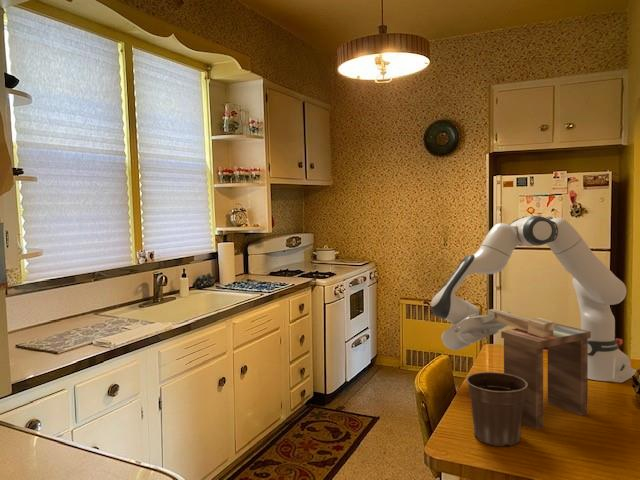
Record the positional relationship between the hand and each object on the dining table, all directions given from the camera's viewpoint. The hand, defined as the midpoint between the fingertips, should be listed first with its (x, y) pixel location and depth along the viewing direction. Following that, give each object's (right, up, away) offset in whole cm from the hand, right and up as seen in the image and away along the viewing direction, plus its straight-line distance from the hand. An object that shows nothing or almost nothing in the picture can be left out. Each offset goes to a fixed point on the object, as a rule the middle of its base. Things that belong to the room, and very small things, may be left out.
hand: (500, 314), depth 158 cm
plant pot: (-9, -32, -20) cm, 39 cm away
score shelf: (+12, -30, -7) cm, 33 cm away
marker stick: (+3, -3, -5) cm, 7 cm away
